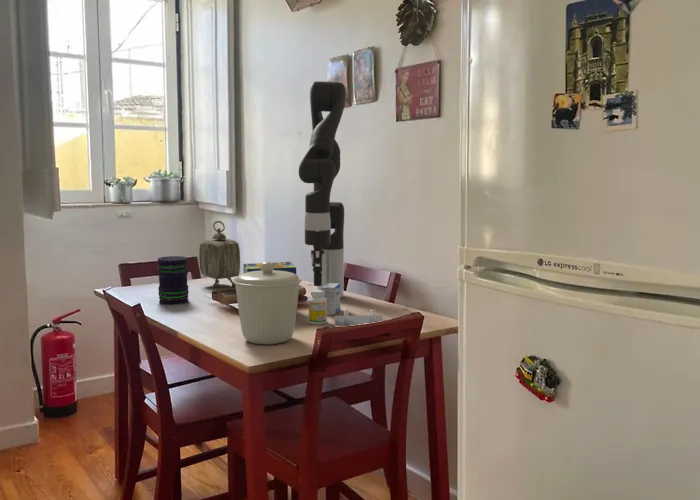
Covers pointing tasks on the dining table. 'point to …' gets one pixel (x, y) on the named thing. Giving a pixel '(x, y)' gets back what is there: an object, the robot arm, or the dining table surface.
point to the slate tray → (356, 319)
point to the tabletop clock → (219, 257)
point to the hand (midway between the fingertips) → (317, 283)
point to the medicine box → (332, 297)
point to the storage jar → (173, 280)
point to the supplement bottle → (317, 307)
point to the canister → (267, 304)
